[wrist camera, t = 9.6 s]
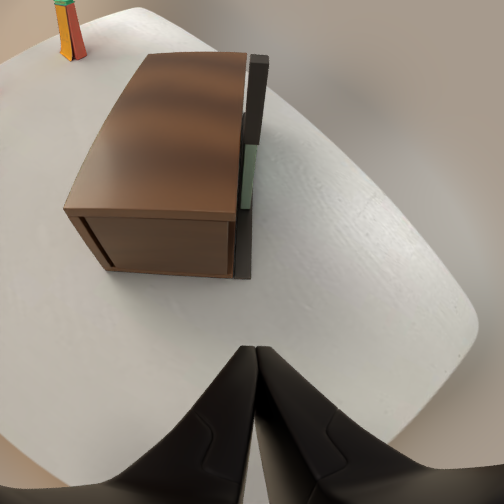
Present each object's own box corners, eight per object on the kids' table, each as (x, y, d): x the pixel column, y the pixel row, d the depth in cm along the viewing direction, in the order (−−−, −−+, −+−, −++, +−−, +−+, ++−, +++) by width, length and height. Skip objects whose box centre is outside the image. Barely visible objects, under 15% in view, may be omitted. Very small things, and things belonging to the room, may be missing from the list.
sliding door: (251, 210, 25) (269, 63, 14) (238, 209, 25) (249, 62, 14) (252, 132, 30) (265, 15, 19) (243, 132, 30) (252, 14, 18)
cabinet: (250, 279, 22) (261, 214, 16) (105, 270, 22) (62, 208, 15) (254, 115, 32) (260, 53, 25) (156, 113, 32) (147, 53, 25)
